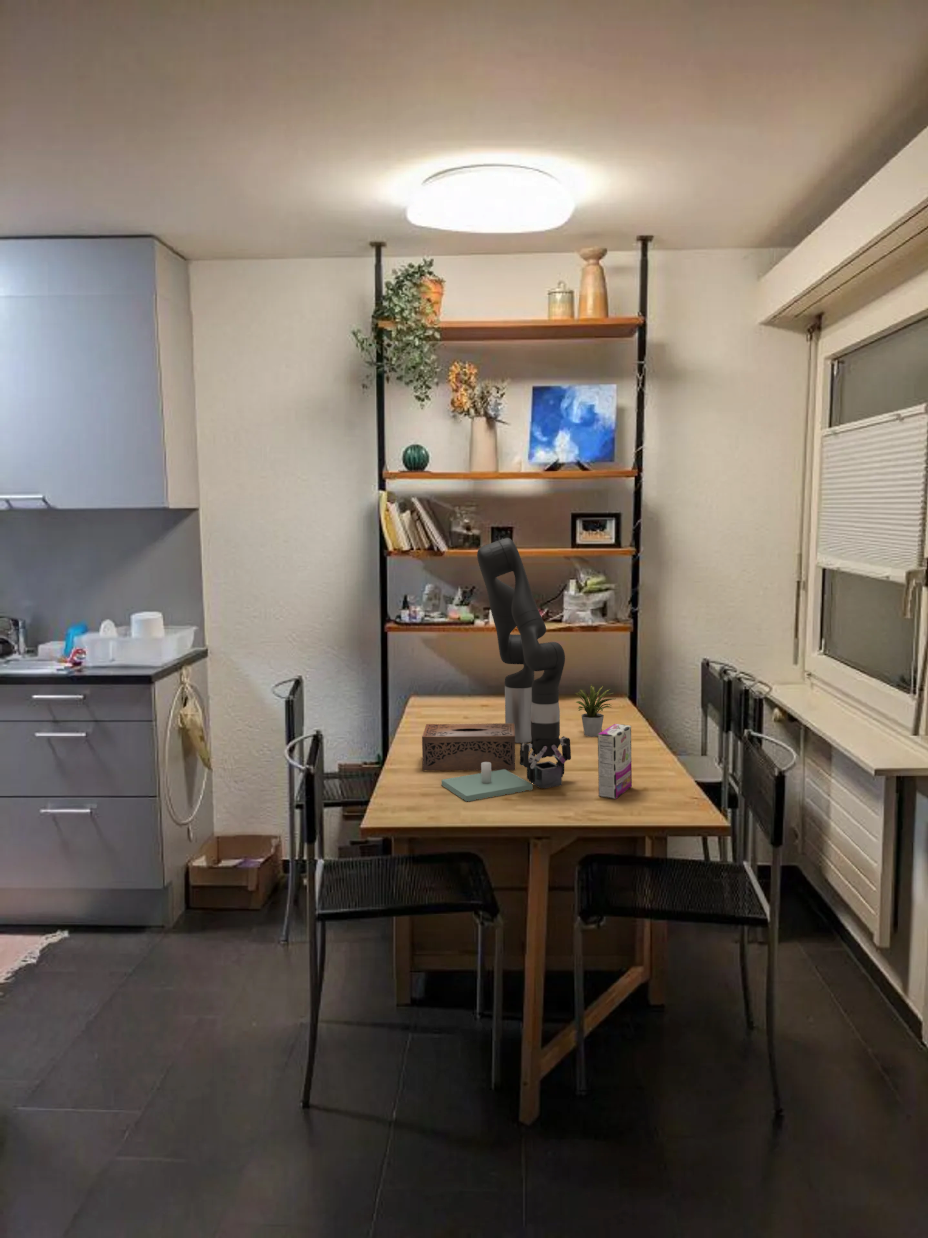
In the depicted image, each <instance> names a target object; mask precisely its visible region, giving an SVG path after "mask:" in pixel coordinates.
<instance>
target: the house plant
mask: <svg viewBox="0 0 928 1238" xmlns="http://www.w3.org/2000/svg"><path fill="white" fill-rule="evenodd" d="M603 687H604V685H602V686H601V687H600V688H599V689H598V690H597V692H596V690H595V686H593V684H592V683H591V684H590V689H589V691H590V693H589V694H588V693H587V691H586V690H582V689H580V688H579V691H578V692H575V694H576V695H577V696H578V697H579V698H580V699H581V700H578V701H576V702H575V703H577V704H579V705H581V706H578V708H577V710H578V711H582V710H583V711H585V713H583V714H581V721H582V728H583V733H584V736H587V737H593V738H596V737H598V734H599V733H600V732H602V731H603V723H604V714H602V713H600V712H603V710H604V709H606V708H611V709H613V707H614V706H612V705H611V703H605V702H608V701H613V700H615V698H613V697H612V698H606V697H607V696H608V695H611V694H612V695H613V692H610V693H607V692H609V691H610V690H611V689H609V688H608V689H607V690H605V691H604V692H602V693H601V694H600V692H601V690H602V689H603ZM599 694H600V696H599ZM598 696H599V697H598ZM604 698H605V699H604Z"/></svg>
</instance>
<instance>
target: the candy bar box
mask: <svg viewBox="0 0 928 1238" xmlns="http://www.w3.org/2000/svg"><path fill="white" fill-rule="evenodd" d="M597 758H598V759H597V762H598V763H597V764H598V797H600V796H601V797H600V798H606V797H607V799H614V800H617V799H618V798H619V797H620V796H622V795H623V794H624V793H625V792H627V791H628V790H629V789H631V788H632V786H633V785H632V783H633V782H632V781H633V780H632V779H633V778H632V726H631V725H628V724H619V723H614V724H612V725H611V726H610V725H609V727H607V728H605V729H604V730H601V732H600V733H599V734H598V736H597Z"/></svg>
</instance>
